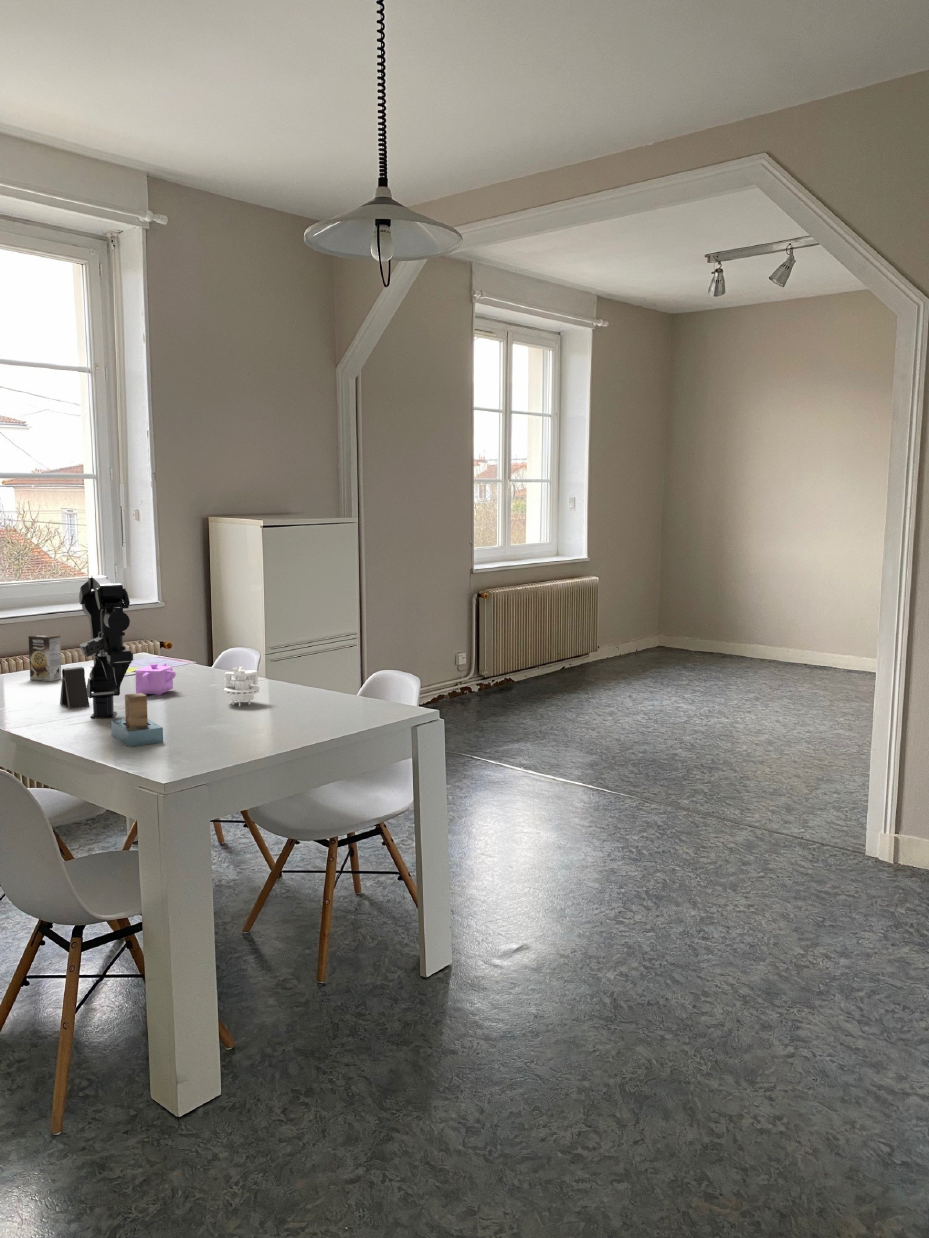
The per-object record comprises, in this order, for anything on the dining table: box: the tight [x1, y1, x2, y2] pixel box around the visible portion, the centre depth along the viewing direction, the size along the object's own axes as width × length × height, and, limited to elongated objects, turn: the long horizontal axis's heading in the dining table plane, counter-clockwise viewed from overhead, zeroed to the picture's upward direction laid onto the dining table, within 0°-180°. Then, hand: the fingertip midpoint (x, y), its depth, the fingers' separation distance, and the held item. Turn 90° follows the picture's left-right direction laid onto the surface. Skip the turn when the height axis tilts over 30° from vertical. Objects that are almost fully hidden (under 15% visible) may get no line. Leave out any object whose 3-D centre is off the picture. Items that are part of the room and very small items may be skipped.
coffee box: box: [28, 633, 62, 682], centre depth 337 cm, size 9×6×16 cm
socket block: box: [110, 717, 164, 748], centre depth 252 cm, size 16×9×4 cm, turn 36°
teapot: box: [134, 662, 177, 696], centre depth 314 cm, size 18×14×10 cm
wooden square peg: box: [124, 692, 148, 727], centre depth 251 cm, size 4×4×12 cm
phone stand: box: [59, 666, 90, 710], centre depth 293 cm, size 9×6×12 cm, turn 42°
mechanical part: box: [223, 666, 260, 707], centre depth 297 cm, size 11×12×12 cm
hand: (113, 682), depth 262 cm, fingers open, 9 cm apart
